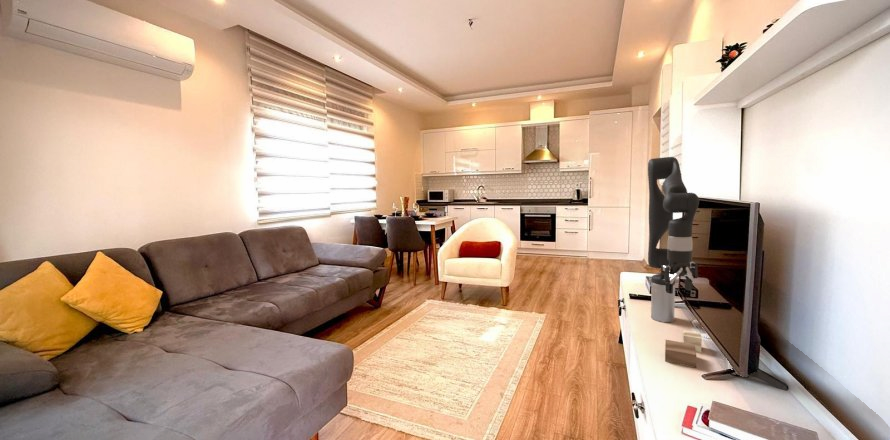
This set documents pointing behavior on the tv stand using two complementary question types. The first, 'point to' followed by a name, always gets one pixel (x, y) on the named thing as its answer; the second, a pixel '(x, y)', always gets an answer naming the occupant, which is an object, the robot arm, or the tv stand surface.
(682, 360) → the walnut base block
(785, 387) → the tv stand surface
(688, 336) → the birch cube
